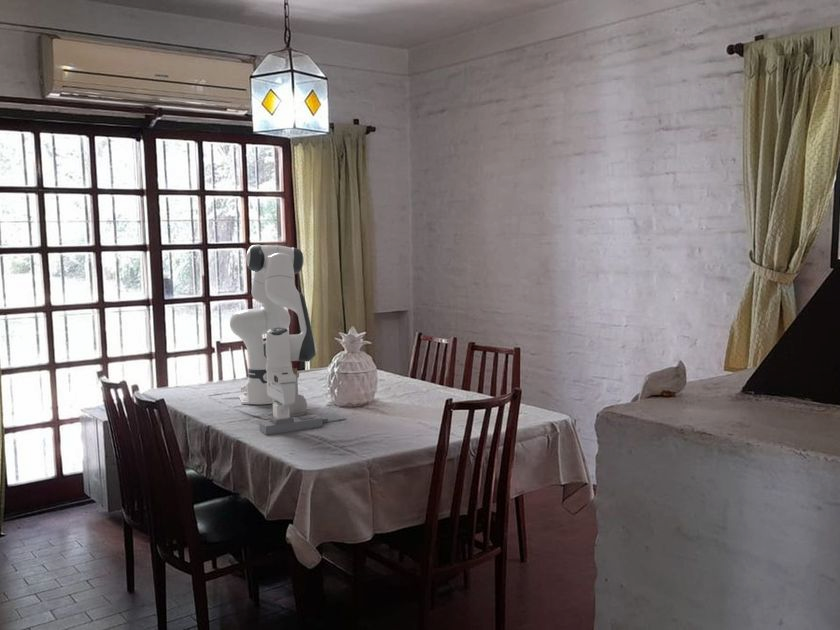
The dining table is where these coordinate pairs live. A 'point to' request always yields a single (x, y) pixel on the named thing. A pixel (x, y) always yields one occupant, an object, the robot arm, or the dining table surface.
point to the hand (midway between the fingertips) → (281, 412)
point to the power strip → (290, 424)
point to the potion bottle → (297, 400)
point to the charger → (279, 411)
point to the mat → (332, 417)
